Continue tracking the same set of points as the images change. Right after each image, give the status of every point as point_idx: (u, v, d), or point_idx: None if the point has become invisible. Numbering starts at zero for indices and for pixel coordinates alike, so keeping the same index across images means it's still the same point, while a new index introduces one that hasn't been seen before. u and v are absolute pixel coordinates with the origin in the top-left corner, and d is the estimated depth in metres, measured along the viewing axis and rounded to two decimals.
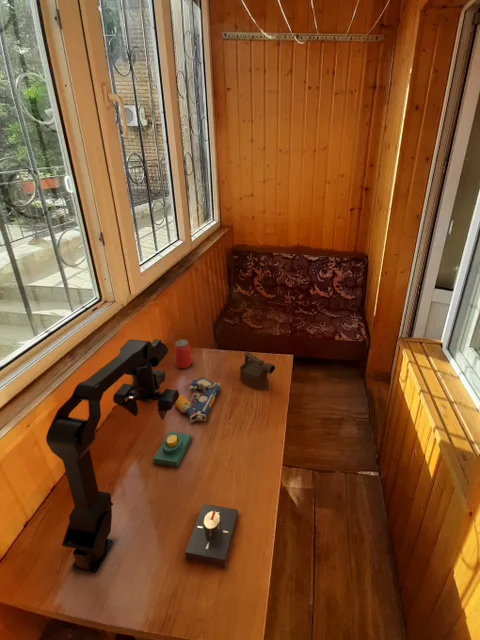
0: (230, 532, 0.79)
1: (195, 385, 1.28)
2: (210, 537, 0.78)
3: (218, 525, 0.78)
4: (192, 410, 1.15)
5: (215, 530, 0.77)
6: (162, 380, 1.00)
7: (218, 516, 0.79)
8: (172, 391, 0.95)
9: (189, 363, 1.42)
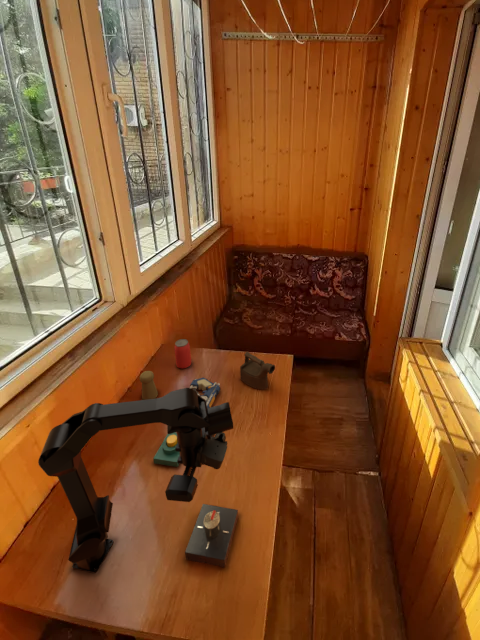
0: (230, 532, 0.79)
1: (195, 385, 1.28)
2: (210, 537, 0.78)
3: (218, 525, 0.78)
4: None
5: (215, 530, 0.77)
6: (211, 465, 0.75)
7: (218, 516, 0.79)
8: (185, 487, 0.70)
9: (189, 363, 1.42)
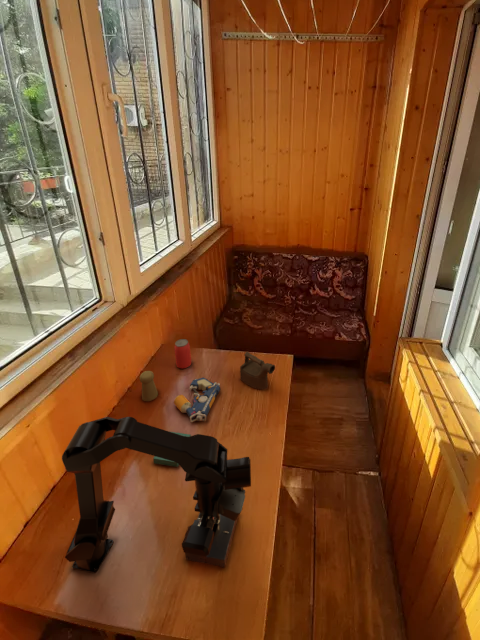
0: (230, 532, 0.79)
1: (195, 385, 1.28)
2: None
3: (218, 525, 0.78)
4: (192, 410, 1.15)
5: None
6: (228, 516, 0.73)
7: None
8: (202, 540, 0.68)
9: (189, 363, 1.42)
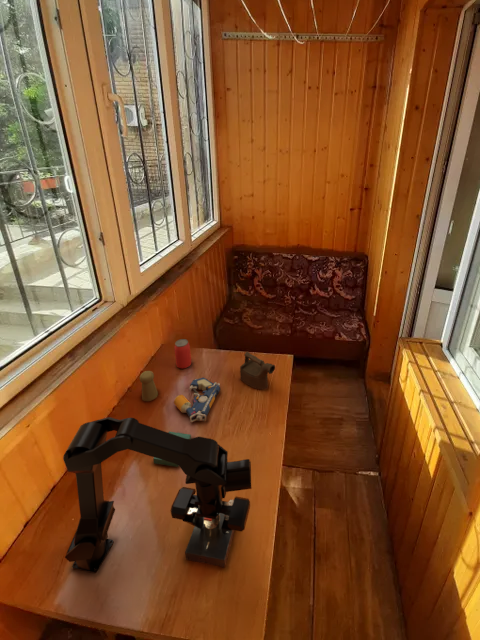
0: (230, 532, 0.79)
1: (195, 385, 1.28)
2: (220, 529, 0.79)
3: None
4: (192, 410, 1.15)
5: None
6: None
7: None
8: (243, 502, 0.76)
9: (189, 363, 1.42)
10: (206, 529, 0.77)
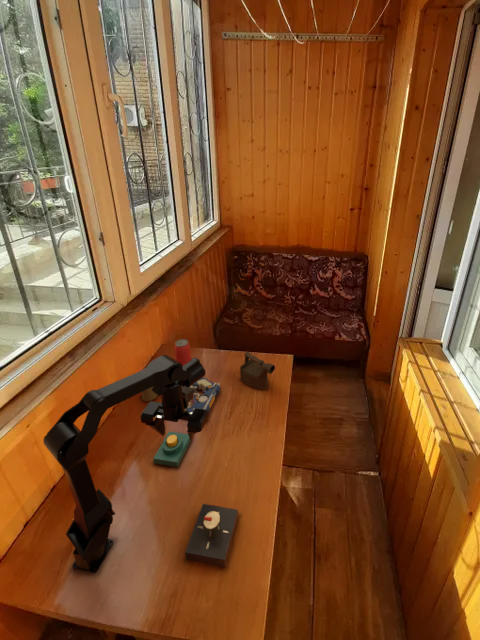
0: (230, 532, 0.79)
1: (195, 385, 1.28)
2: (220, 529, 0.79)
3: None
4: (192, 410, 1.15)
5: None
6: (190, 398, 0.95)
7: (210, 512, 0.80)
8: (202, 411, 0.90)
9: None
10: (206, 529, 0.77)
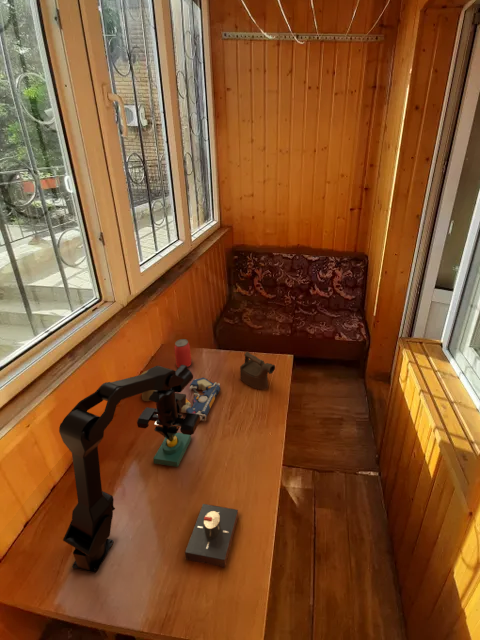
0: (230, 532, 0.79)
1: (195, 385, 1.28)
2: (220, 529, 0.79)
3: None
4: (192, 410, 1.15)
5: None
6: (183, 404, 1.03)
7: (210, 512, 0.80)
8: (194, 415, 0.98)
9: (189, 363, 1.42)
10: (206, 529, 0.77)
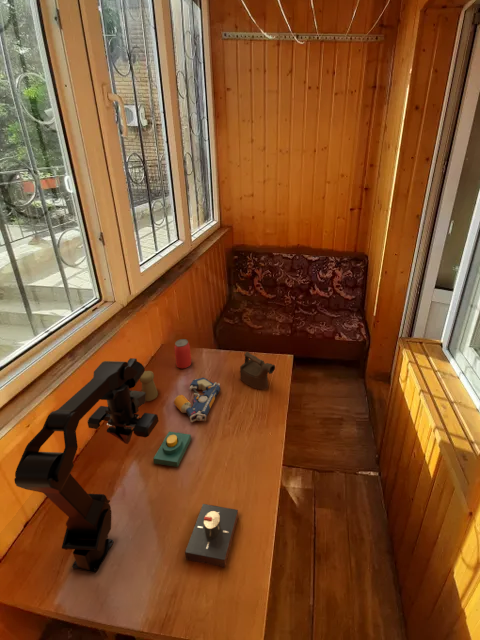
0: (230, 532, 0.79)
1: (195, 385, 1.28)
2: (220, 529, 0.79)
3: None
4: (192, 410, 1.15)
5: None
6: (141, 402, 0.93)
7: (210, 512, 0.80)
8: (151, 416, 0.89)
9: (189, 363, 1.42)
10: (206, 529, 0.77)
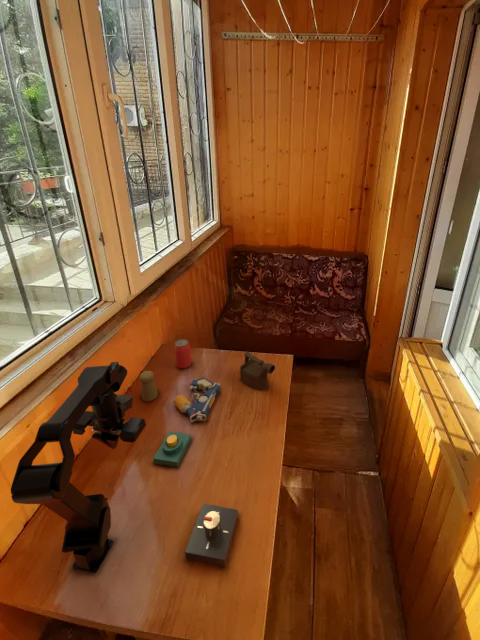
0: (230, 532, 0.79)
1: (195, 385, 1.28)
2: (220, 529, 0.79)
3: None
4: (192, 410, 1.15)
5: None
6: (128, 407, 0.91)
7: (210, 512, 0.80)
8: (137, 420, 0.87)
9: (189, 363, 1.42)
10: (206, 529, 0.77)
